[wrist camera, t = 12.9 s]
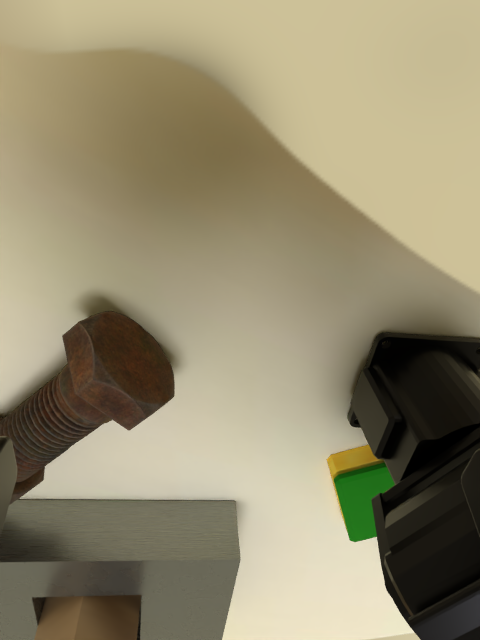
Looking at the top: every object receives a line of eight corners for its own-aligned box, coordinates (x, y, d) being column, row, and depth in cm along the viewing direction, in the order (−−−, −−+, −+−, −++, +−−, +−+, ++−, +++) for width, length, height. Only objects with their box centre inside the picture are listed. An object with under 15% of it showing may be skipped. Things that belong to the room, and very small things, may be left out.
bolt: (-32, 441, 27) (135, 303, 23) (13, 507, 27) (191, 382, 22) (-133, 491, 22) (62, 321, 17) (-75, 574, 21) (137, 426, 17)
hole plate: (235, 500, 29) (240, 559, 26) (214, 607, 37) (216, 664, 33) (-53, 499, 27) (-89, 563, 23) (-16, 614, 34) (-39, 676, 31)
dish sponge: (324, 450, 28) (334, 482, 26) (537, 393, 27) (565, 421, 25) (341, 513, 32) (351, 544, 30) (529, 464, 31) (553, 494, 29)
